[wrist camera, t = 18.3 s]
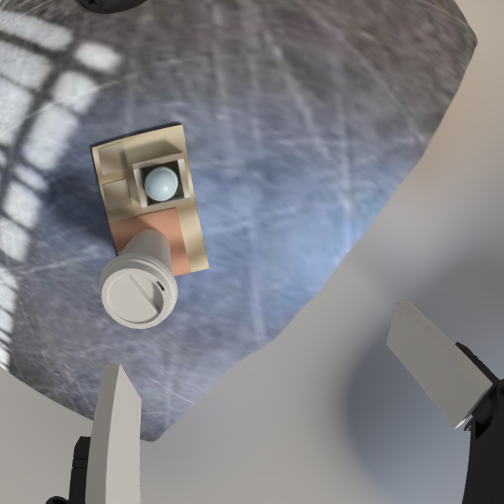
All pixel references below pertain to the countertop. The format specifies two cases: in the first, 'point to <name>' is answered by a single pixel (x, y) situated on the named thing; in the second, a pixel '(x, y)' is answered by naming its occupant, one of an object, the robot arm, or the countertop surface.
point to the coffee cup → (140, 282)
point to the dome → (161, 183)
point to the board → (141, 204)
